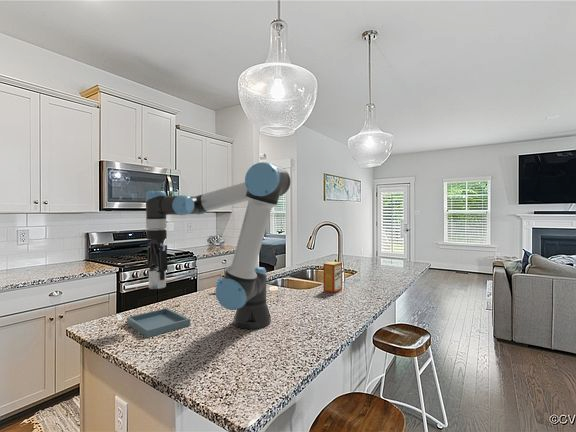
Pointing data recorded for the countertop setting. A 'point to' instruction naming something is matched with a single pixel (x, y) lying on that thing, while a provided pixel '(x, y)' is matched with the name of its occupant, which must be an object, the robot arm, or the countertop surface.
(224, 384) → the countertop surface
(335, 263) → the baking soda box
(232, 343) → the countertop surface
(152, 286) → the knob
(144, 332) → the parts tray
